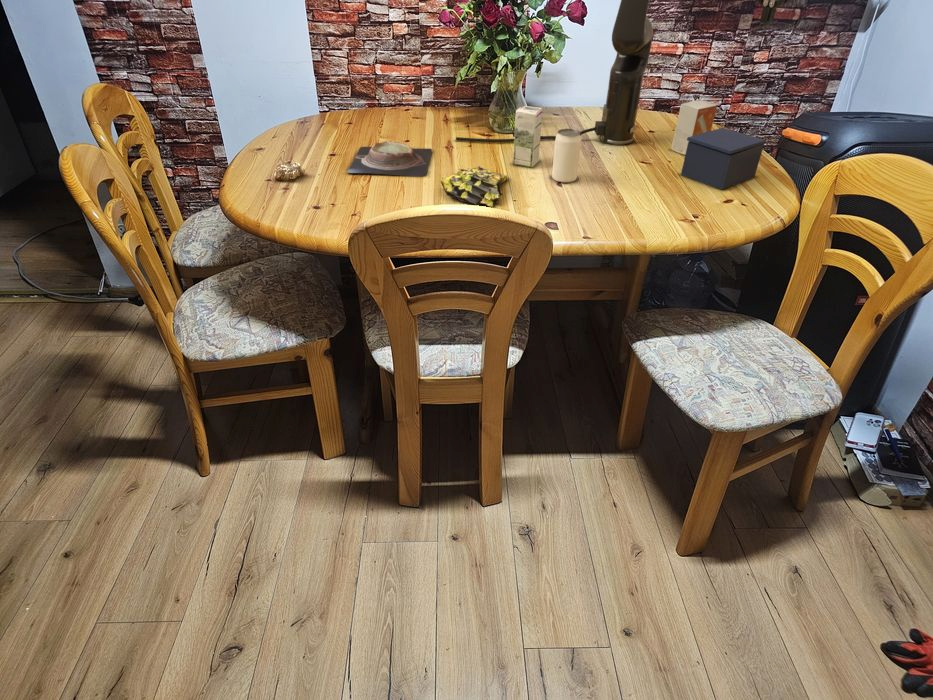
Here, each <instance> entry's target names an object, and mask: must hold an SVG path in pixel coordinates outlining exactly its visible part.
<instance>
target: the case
mask: <svg viewBox="0 0 933 700" xmlns="http://www.w3.org/2000/svg"><path fill="white" fill-rule="evenodd" d="M764 146H765V143H764V144H761V145H758V146H754V147H751V148H748V149H745V150H742V151H739V152H736V153H733V154H728V153H725V152H721V151H718V150H715V149H712V148H709V147H706V146H703V145H700V144H697V143H693V142H690V141H689V142H688V145H687V150H686V154H685V155H684V159H683V163H682V168H681V173H680V175H681V176H683V177H685V178H689V179H691V180H694V181H697V182H700V183H702V184H705V185H708V186H711V187H713V188H716V189H719V190H721V191H723V190H726V189H728V188H731V187H733V186H735V185H738V184H740V183H742V182H745V181H748V180H750V179H752V178H755V177H756V174H757V169H758V167H759V163H760V159H761V156H762V153H763V150H764Z"/></svg>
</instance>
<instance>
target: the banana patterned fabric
mask: <svg viewBox="0 0 933 700" xmlns="http://www.w3.org/2000/svg"><path fill="white" fill-rule="evenodd" d="M508 176H509V175H508V174H502V173H499V172H495V171H492V170H491V169H486V168H485V167H482V166H481V165H478V166H477V165H476V166H475V167H473V168H468V169H465V170H458V171H457V172H456V173H454V174H453V175H449V176H447V177H441V179H440V184H441V186H442V188H443V190H444V192H445V194H446V196H449V197H451V198H453V199H456V200H458V201H460V202H465V203H467V204H470V205H475V206H478V205H481V204H484V205H486V206H488V207H490V208H493V206H494V203H497V202H499V200H500V199H501V198H500V196H503V193H502V191H501V187H500V186H501V185H502V184H503V183H504V182H506V181H507V180H508Z"/></svg>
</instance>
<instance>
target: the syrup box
mask: <svg viewBox="0 0 933 700" xmlns="http://www.w3.org/2000/svg"><path fill="white" fill-rule="evenodd" d="M542 120H543V107H536V106H529V105H521V106H520V107H518V108H517V109H516V110H515V120H514V137H513V139H514V142H513V159H512V164H513V165H515V166H520V167H525V168H534V166H536V164H538V163H539V160H540V148H541V147H540V146H541V140H540V136H542V135H541V134H542V133H541V132H542V122H543V121H542Z"/></svg>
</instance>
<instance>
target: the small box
mask: <svg viewBox="0 0 933 700" xmlns="http://www.w3.org/2000/svg"><path fill="white" fill-rule="evenodd" d="M717 108H718V104H715V103H713V102H709V101H706V100H702V99H697V100H691V101H687V102H684V103H681V104H680V108H679V111H678V116H677V121H676V125H675V130H674V135H673V139H672V143H671V148H670V150H671V151H673V152H675V153H678V154H680V155H684V156H685V154H686V150H687V145H688V142H689V141H687V138H688V137H691V136H694V135H698V134H701V133H705V132H709V131H712V128H713V124H714V121H715V116H716V113H717Z"/></svg>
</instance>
